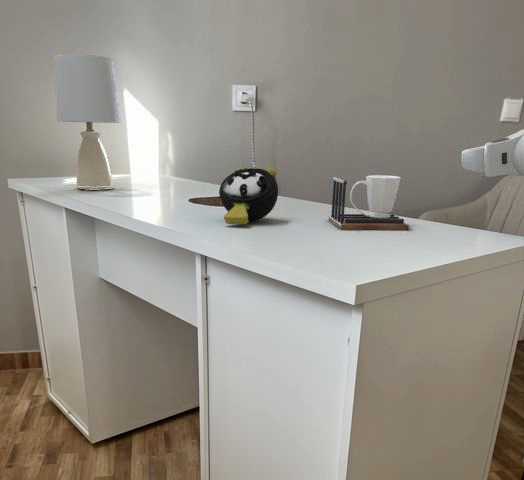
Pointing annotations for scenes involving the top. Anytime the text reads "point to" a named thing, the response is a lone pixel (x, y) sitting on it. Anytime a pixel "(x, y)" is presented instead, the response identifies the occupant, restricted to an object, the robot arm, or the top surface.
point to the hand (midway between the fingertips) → (494, 149)
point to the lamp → (87, 110)
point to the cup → (379, 194)
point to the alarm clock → (248, 194)
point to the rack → (359, 215)
